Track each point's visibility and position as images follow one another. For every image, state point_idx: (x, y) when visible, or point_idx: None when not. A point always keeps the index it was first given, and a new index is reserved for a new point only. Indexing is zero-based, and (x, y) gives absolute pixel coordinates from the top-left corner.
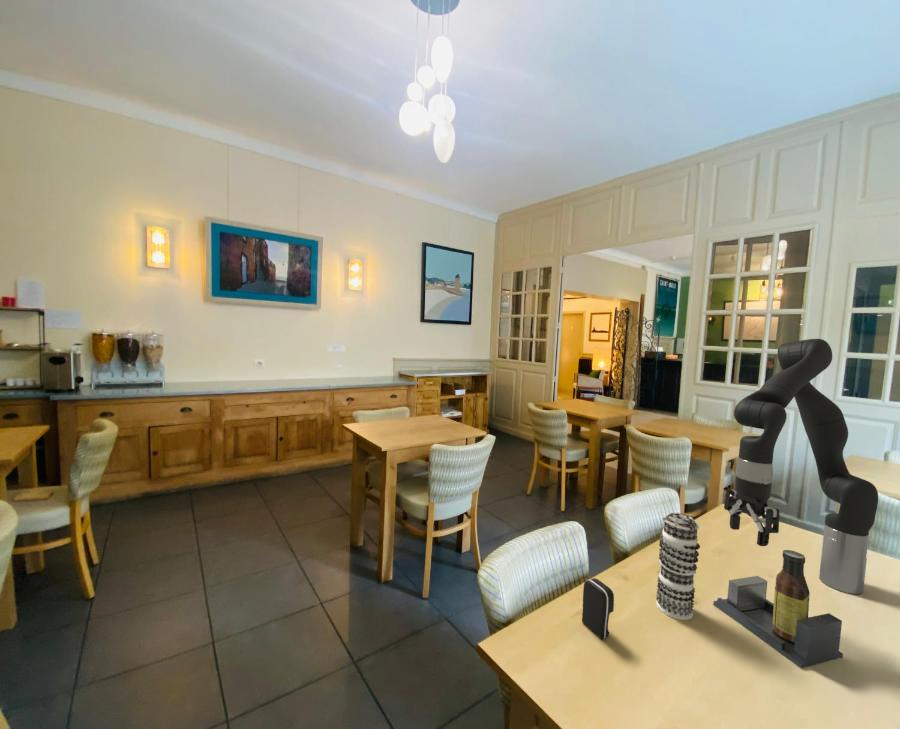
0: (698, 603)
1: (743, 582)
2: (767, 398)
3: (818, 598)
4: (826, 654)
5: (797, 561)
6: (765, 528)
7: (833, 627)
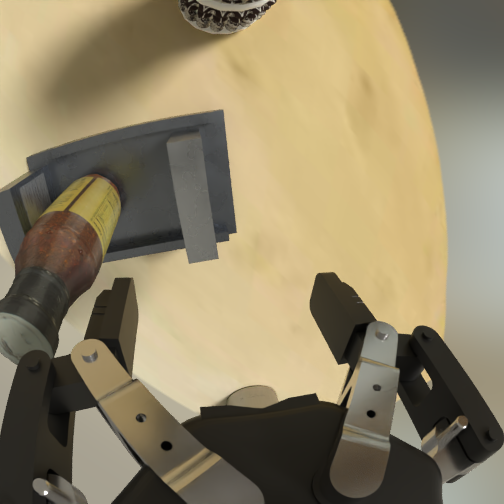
0: (232, 73)
1: (184, 179)
2: None
3: (222, 354)
4: None
5: None
6: (48, 371)
7: None
